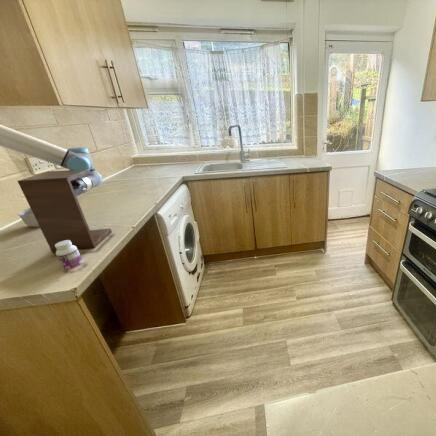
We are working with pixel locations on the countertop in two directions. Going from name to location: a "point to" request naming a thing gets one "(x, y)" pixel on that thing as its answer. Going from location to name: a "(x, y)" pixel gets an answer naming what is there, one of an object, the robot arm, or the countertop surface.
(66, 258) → the pill bottle
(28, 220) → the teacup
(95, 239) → the shelf rack
